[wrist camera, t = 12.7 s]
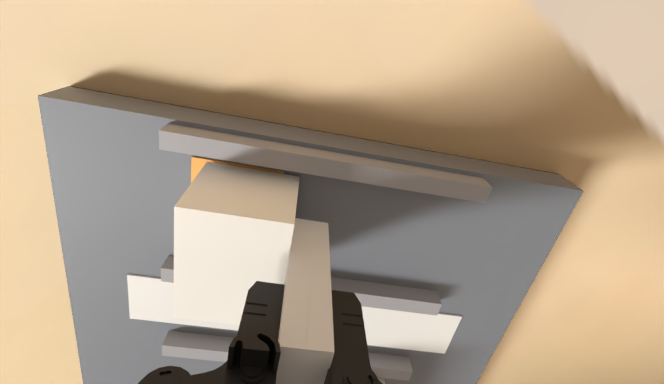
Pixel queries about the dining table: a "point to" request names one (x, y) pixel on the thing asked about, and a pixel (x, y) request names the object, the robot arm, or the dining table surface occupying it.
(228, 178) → the outer tab
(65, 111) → the switch panel
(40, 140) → the dining table surface
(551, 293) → the dining table surface
